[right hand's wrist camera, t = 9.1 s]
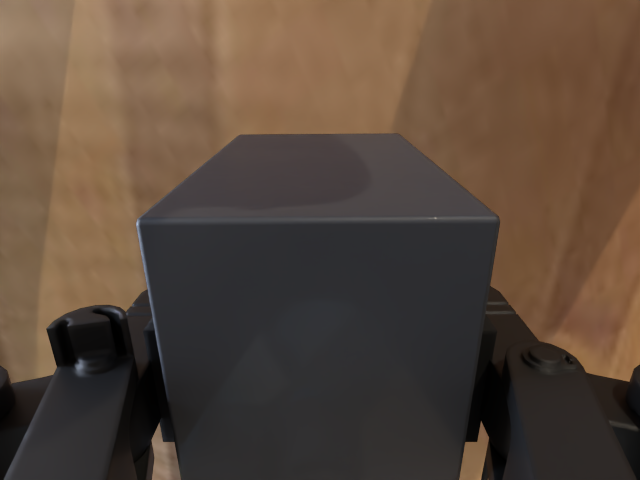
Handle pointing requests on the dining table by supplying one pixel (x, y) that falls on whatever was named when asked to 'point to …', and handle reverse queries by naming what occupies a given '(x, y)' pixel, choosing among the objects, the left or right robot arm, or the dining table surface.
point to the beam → (319, 309)
